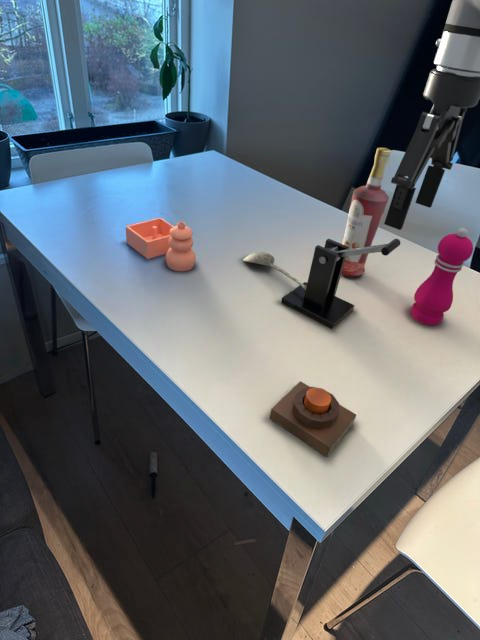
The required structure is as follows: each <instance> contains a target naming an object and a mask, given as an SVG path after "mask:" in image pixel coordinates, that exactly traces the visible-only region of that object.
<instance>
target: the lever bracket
mask: <svg viewBox="0 0 480 640" xmlns="http://www.w3.org/2000/svg"><path fill="white" fill-rule="evenodd" d="M330 247H338V250H339V251H340V250H347V249H348V248H349V247H348V246H346V245H343V243H341V242H339V241H336V240H333V239H331V238H327V239H326V240H325V243H324V246H322V245H319V244H318V245H316V246H315V247H314V252H313V256H312V260H311V264H310V269H309V273H308V278H307V281H304V282H302V284H304V285H306V291H305V289H303V287H302V286H301V285H298V286H297V287H295V288H294V289H293V290H291V291H290V292H288V293H287V294H285V295H284V296H283V297H281V301H280V303H281V304H283V305H285V306H286V307H288V308H290V309H292V310H293V311H296V312H298V313H299V314H302V315H304V316H306V317H308V318H310V319H312V320H314V321H315V322H317V323H319V324H321V325H323V326H324V327H327V328H329V329H331V330H333V329H334V328H335V327H336V326H337V325H338V324H339V323H340V322H342V321H343V320H344V319H345V318H346V317H348V315H350V313H351V312H353V311H354V308H355V304H353V303H351V302H348V301H347V300H345V299H342V298H340V297H339V296H336V294H337V292H338V291H337V290H338V287H339V284H340V280H341V276H342V274H341V273H342V269H343V266H344V262H345V259H346V256H344V257H340V259H339V260H338V261H337V258H338V253H336V252H333V251H331V250H329V249H326V248H330Z"/></svg>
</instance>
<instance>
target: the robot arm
mask: <svg viewBox="0 0 480 640" xmlns="http://www.w3.org/2000/svg"><path fill="white" fill-rule="evenodd" d="M435 46H436V47H437V51H436V53H435V56H434V60H433V65H435V66H436V68H433V69H431V70H430V72H429V74H428V78H427V81H426V83H425V86H424V90H423V92H422V96H423V99H425V100H427V101H429V102H432V107H431V109H430V111H429V112H426V111H422V113H421V114H420V116H419V119H418V122H417V126H416V128H415V131H414V132H413V134H412V137H411V140H410V142H409V144H408V145H407V148H406V150H405V153H404V155H403V157H402V158H401V161H400V164H399V165H398V166H397V167H398V168H397V170H396V171H395V174H394V176H392V177H391V181H390V183H391V184H393V185H395V189H394V191H393V194H392V198H391V201H390V204H389V207H388V210H387V213H386V216H385V220H384V222H383V225H386V226H387V227H391V228H392V229H393V228H394V229H396V230H399V231H401V230H402V229H403V227H404V224H405V221H406V218H407V216H408V213H409V209H410V207H411V204H412V201H413V198H414V195H415V192H416V189H417V187H415V186H416V184H417V182H418V181H419V179H420V177H421V175H422V174H423V171H424V170H425V168H426V166H427V164H428V162H429V160H430V159H431V163H430V165H428V166H427V168H426V171H425V174H424V176H423V180H422V182H421V185H420V188H419V191H418V193H417V197H416V199H415V204H418V205H421V206H422V207H423V206H424V207H426V208H429V209H430V208H432V206H433V204H434V201H435V198H436V196H437V193H438V190H439V188H440V186H441V182H442V179H443V177H444V175H445V172H446V170H448V171H450V170H452V168H453V166H454V163H453V162H452V161H453V160H454V156H455V152H456V149H457V148H456V147H457V144H458V140H459V136H460V132H461V128H462V125H463V120H464V118H465V115H466V113H467V111H468V109H469V108H474V107H476V106H477V105H478V104H479V101H480V0H452V1H451V3H450V7H449V11H448V14H447V18H446V21H445V25H444V28H443V31H442V35H441V38H437V40H436V42H435Z"/></svg>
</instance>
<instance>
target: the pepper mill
mask: <svg viewBox="0 0 480 640" xmlns="http://www.w3.org/2000/svg"><path fill="white" fill-rule="evenodd" d="M468 233H469V231H468V229H466V227H460V228H458V229H457V230H456V233H450V234H447V235H445V236H443V237H442V238H441V240H440V241H439V242H438V244H437V252H438V254H437V255H436V257H435V259H434V265H435V266H434V268H433V270H432V273H430V275H429V276H428V277H427V278H426V279H425V280H424V281H423V282H422V283H420V285H419V286H418V287H417V289H416V290H415V292H414V295H413V299H414V302H413V304H412V306H411V308H410V311H409V313H410V316H411V317H412V318H413V319H414V321H417V323H420V324H423V325H425V326H438V325H440V324H441V322H442V321H443V318H444V316H445V314H444V313H446V312H448V311H449V310H450V309H451V307H452V305H453V302H454V291H453V288H454V281H455V278H456V276H457V275H458V273H459V272H461V271H462V269H463V267H464V266H465V265H464V264H465V262H466V261H468V260H469V259H470V258H471V257H472V254H473V253H474V245H473V242H472V240H471V239H470V238H469V237H468V236H467V235H468Z"/></svg>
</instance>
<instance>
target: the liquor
mask: <svg viewBox="0 0 480 640" xmlns="http://www.w3.org/2000/svg"><path fill="white" fill-rule="evenodd" d="M391 152H392V151H391V149H389V148H387V147H376V151H375V155H374V162H373V166H372V168H371V172H370V173H369V176H368V179H367V182H366V185H361V186H358V187H357V188H355V189H354V190H353V192H352V196H351V202H350V207H349V210H348V215H347V220H346V225H345V231H344V235H343V239H342V244H343V245H346V246H348V247H349V248H348V249H354V248H362V247H369V246H373V242H374V240H375V237H376V234H377V232H378V229H379V226H380V224H381V221H382V218H383V215H384V213H385V211H386V207H387V204H388V202H389V195H388V194H387V193H386V191H384V189H382V183H383V179H384V174H385V168H386V165H387V163H388V161H389V160H390V159H389V158H390V155H391ZM369 255H370V253H368V254H360V255H352V256H346V259H345V262H344V266H343V269H342V273H341V275H343V276H345V277H348V278H355V277H358V276H360V275H363V274H364V273H365V272H366V267H365V265H366V262H367V259H368V256H369Z"/></svg>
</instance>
